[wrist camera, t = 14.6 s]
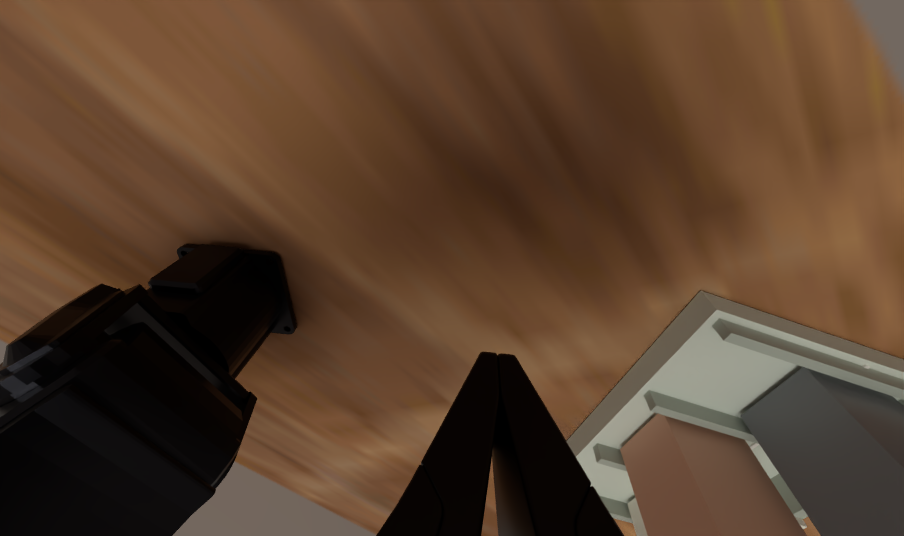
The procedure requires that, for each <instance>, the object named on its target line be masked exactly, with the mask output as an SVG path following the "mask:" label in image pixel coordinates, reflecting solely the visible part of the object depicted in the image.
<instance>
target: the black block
mask: <svg viewBox="0 0 904 536" xmlns="http://www.w3.org/2000/svg"><path fill="white" fill-rule="evenodd" d="M741 418H742V419H743V421H744V422H745V424H746V425H747V427H748V428H749V430H750V431H751V433H752V434H753V436H754V437H755V439H756V440H757V441H758V443H759V444H760V446H761V447H762V449H763V450H764V452H765V453H766V455H767V456H768V458H769V459H770V461H771V462H772V464H773V465H774V467H775V468H776V470H777V471H778V473H779V474H780V475H781V477H782V478H783V480H784V481H785V483H786V484H787V486H788V487H789V489H790V490H791V492H792V493H793V495H794V496H795V498H796V499H797V501H798V502H799V504H800V505H801V507H802V508H803V510H804V511H805V512H806V514H807V515H808V517H809V518H810V520H811V521H812V523H813V524H814V526H815V527H816V529H817V530H818V532H819V533H820V535H821V536H904V406H903V405H902V404H901V403H899V402H898V401H897V400H896V399H895V398H894V397H893V396H890V395H887V394H884V393H881V392H878V391H875V390H872V389H869V388H866V387H863V386H860V385H857V384H854V383H851V382H848V381H845V380H842V379H839V378H835V377H832V376H829V375H826V374H823V373H820V372H817V371H814V370H811V369H808V368H805V367H802V368H801V369H800V370H799V371H797V372H796V373H795V374H793V375H792V376H791V377H790V378H788V379H787V380H786V381H784V382H783V383H782V384H781V385H779V386H778V387H777V388H775V389H774V390H773V391H772V392H770V393H769V394H768V395H766V396H765V397H764V398H763V399H761V400H760V401H759V402H757V403H756V404H755V405H754V406H752V407H751V408H750V409H748V410H747V411H746V412H745V413H743V414H742V415H741Z"/></svg>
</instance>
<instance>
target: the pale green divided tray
mask: <svg viewBox="0 0 904 536" xmlns="http://www.w3.org/2000/svg"><path fill="white" fill-rule="evenodd" d="M802 367H805V368H808V369H811V370H814V371H817V372H820V373H823V374H826V375H829V376H832V377H835V378H839V379H842V380H845V381H848V382H851V383H854V384H857V385H860V386H863V387H866V388H869V389H872V390H875V391H878V392H881V393H884V394H887V395H890V396H893V397H894V398H895V399H896V400H897V401H898V402H899V403H901V404H902V405H903V406H904V359H901V358H898V357H895V356H892V355H889V354H886V353H883V352H880V351H877V350H874V349H871V348H868V347H865V346H862V345H859V344H857V343H854V342H851V341H848V340H845V339H842V338H839V337H836V336H833V335H830V334H827V333H824V332H821V331H818V330H815V329H812V328H809V327H806V326H804V325H801V324H798V323H795V322H792V321H789V320H786V319H783V318H780V317H777V316H774V315H771V314H768V313H765V312H762V311H759V310H756V309H753V308H751V307H748V306H745V305H742V304H739V303H736V302H733V301H730V300H727V299H724V298H721V297H718V296H715V295H712V294H709V293H706V292H703V291H700V292H699V293H698V294H697V295H696V296H695V297H694V298H693V299H692V301H691V302H690V303H689V304H688V305H687V306H686V307H685V308H684V310H683V311H682V312H681V313H680V314H679V315H678V316H677V317H676V319H675V320H674V321H673V322H672V323H671V324H670V325H669V326H668V328H667V329H666V330H665V331H664V332H663V333H662V334H661V335H660V337H659V338H658V339H657V340H656V341H655V342H654V343H653V344H652V346H651V347H650V348H649V349H648V350H647V351H646V352H645V353H644V355H643V356H642V357H641V358H640V359H639V360H638V361H637V362H636V364H635V365H634V366H633V367H632V368H631V369H630V370H629V371H628V373H627V374H626V375H625V376H624V377H623V378H622V379H621V380H620V381H619V383H618V384H617V385H616V386H615V387H614V388H613V389H612V390H611V392H610V393H609V394H608V395H607V396H606V397H605V398H604V399H603V401H602V402H601V403H600V404H599V405H598V406H597V407H596V408H595V410H594V411H593V412H592V413H591V414H590V415H589V416H588V417H587V419H586V420H585V421H584V422H583V423H582V424H581V425H580V426H579V428H578V429H577V430H576V431H575V432H574V433H573V434H572V435H571V437H570V438H569V439H568V440H567V443H568V445H569V446H570V448H571V450H572V451H573V453H574V455H575V456H576V458H577V460H578V461H579V463H580V465H581V466H582V468H583V470H584V471H585V473H586V475H587V476H588V478H589V480H590V481H591V486H593V487H594V488H595V489H596V491H597V493H598V495H599V496H600V498H601V500H602V501H603V503H604V505H605V506H606V508H607V509H608V511H609V513H610V514H611V516H612V517H613V518H615V519H619V520H623V521H626V522H630V523H633V521H632V518H631V515H630V511H629V508H628V505H627V504H628V503H629V502H630V501H631V500H633V499H634V498H635V494H634V491H633V488H632V485H631V482H630V479H629V476H628V473H627V470H626V466H625V463H624V460H623V457H622V454H621V451H620V449H621V448H622V447H623V446H624V445H625V444H626V443H627V442H628V441H629V440H630V439H631V438H632V437H633V436H635V435H636V434H637V433H638V432H639V431H640V430H641V429H642V428H643V427H644V426H645V425H646V424H647V423H648V422H649V421H650V420H652V419H653V418H654V417H655V416H656V415H657V414H661V415H665V416H668V417H671V418H675V419H678V420H681V421H684V422H688V423H691V424H694V425H698V426H701V427H704V428H708V429H711V430H714V431H718V432H721V433H724V434H728V435H731V436H734V437H737V438H741V439H744V440H745V441H746V442H747V444H748V445H749V447H750V448H751V450H752V452H753V453H754V455H755V456H756V458H757V459H758V461H759V462H760V464H761V465H762V467H763V469H764V470H765V472H766V473H767V475H768V476H769V478H770V479H771V481H772V482H773V484H774V486H775V487H776V489H777V490H778V492H779V493H780V495H781V496H782V498H783V499H784V501H785V503H786V504H787V506H788V507H789V509H790V510H791V512H792V513H793V515H794V516H795V518H796V520H797V521H798V523H799V524H800V526H801V527H802V529H805V528H807V525H806V524H805V522H804V521H803V519H804V518H806V517H808V515H807V514H806V512H805V511H804V510H803V508H802V507H801V505H800V504H799V502H798V501H797V499H796V498H795V496H794V495H793V493H792V492H791V490H790V489H789V487H788V486H787V484H786V483H785V481H784V480H783V478H782V477H781V475H780V474H779V473H778V471H777V470H776V468H775V467H774V465H773V464H772V462H771V461H770V459H769V458H768V456H767V455H766V453H765V452H764V450H763V449H762V447H761V446H760V444H759V443H758V441H757V440H756V439H755V437H754V436H753V434H752V433H751V431H750V430H749V428H748V427H747V425H746V424H745V422H744V421H743V419H742V418H741V415H742V414H743V413H745V412H746V411H747V410H748V409H750V408H751V407H752V406H754V405H755V404H756V403H757V402H759V401H760V400H761V399H763V398H764V397H765V396H766V395H768V394H769V393H770V392H772V391H773V390H774V389H775V388H777V387H778V386H779V385H781V384H782V383H783V382H784V381H786V380H787V379H788V378H790V377H791V376H792V375H793V374H795V373H796V372H797V371H799V370H800V369H801V368H802ZM591 486H590V487H591Z"/></svg>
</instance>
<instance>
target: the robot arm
mask: <svg viewBox="0 0 904 536" xmlns="http://www.w3.org/2000/svg"><path fill="white" fill-rule="evenodd" d="M177 254H178V256H179V260H177V261H176V262H174V263H173V264H172V265H170V266H169V267H167V268H166V269H164V270H163V271H161V272H160V273H158V274H157V275H155V276H154V277H152V278H151V279H150V281H149V282H148V284H149V286H150V288H149V289H147V290H145V289H144V288H143V287H142V286H141V285H140V284H139V285H137V286H134V287H132V288H130V289H127V290H125V291H122V290H121V289H119V288H118V289H116V288H113V287H110V286H107V285H104V284H100V285H98V286H95V287H93V288H92V289H90V290H88V291H87V292H85V293H83V294H82V295H80V296H78V297H77V298H75V299H73V300H72V301H70V302H69V303H67V304H65V305H64V306H62V307H61V308H59V309H57V310H56V311H54V312H53V313H51V314H50V315H48V316H47V317H46V318H44V319H43V320H41V321H40V322H39V323H37V324H36V325H34V326H33V327H32V328H30V329H29V330H28V331H26V332H25V333H23V334H22V335H21V336H19V337H18V338H17V339H15V340H14V341H12V342H11V343H10V344H8V345H7V346H6V351H5V356H4V361H3V362H2V363H1V364H0V536H172V535H173V534H174V533H175V532H176V531H177V530H178V529H179V528H180V527H181V526H182V525H183V523H184V522H185V521H186V520H187V519H188V518H189V517H190V516H191V515H192V514H193V513H194V512H195V511H196V510H198V509H199V508H200V507H201V506H202V505H203V504H204V503H205V502H207V501H208V500H209V499H210V498H211V497H212V496H213V495H214V493H215V491H216V487H217V486H218V485H219V484H220V483H221V481H222V480H223V479H224V478H225V476H226V475H227V473H228V472H229V470H230V468H231V467H232V465H233V463H234V461H235V458H236V456H237V453H238V450H239V448H240V445H241V442H242V439H243V436H244V434H245V431H246V428H247V425H248V423H249V420H250V417H251V414H252V412H253V409H254V406H255V403H256V401H257V397H256V396H255V395H254V394H253V393H251V392H248V391H247V390H246V389H245V388H244V387H243V386H242V385H241V384H240V383H239V382H238V381H236V380H235V378H236V377H237V376H238V374H239V373H240V372H241V370H242V369H243V368H244V367H245V365H246V364H247V363H248V361H249V360H250V359H251V357H252V356H253V355H254V354H255V352H256V351H257V350H258V348H259V347H260V346H261V345H262V343H263V342H264V341H265V339H266V338H267V337H268V335H269V334H270V333H271V332H272V333H281V334H292V333H294V331H295V330H296V328H297V325H296V321H295V317H294V313H293V308H292V304H291V300H290V296H289V292H288V288H287V284H286V280H285V276H284V271H283V267H282V263H281V259H280V257H279V256H278V255H277V254H275V253H273V252H266V251H255V250H244V249H240V248H236V247H225V246H215V245H204V244H202V245H189V244H184V245H183V246H181V247H179V248H178V249H177ZM269 259H271V260H272V261H273V262H271V261H270V260H269ZM491 458H492V462H493V474H494V486H495V498H496V510H497V523H498V535H499V536H624V535H623V533H622V532H621V530H620V528H619V527H618V525H617V524H616V522H615V520H614V519H613V517H612V516H611V514H610V513H609V511H608V509H607V508H606V506H605V505H604V503H603V501H602V500H601V498H600V496H599V495H598V493H597V491H596V489H595V488H594V487H593V486H591V481H590V480H589V478H588V476H587V475H586V473H585V471H584V470H583V468H582V466H581V465H580V463H579V461H578V460H577V458H576V456H575V455H574V453H573V451H572V450H571V448H570V446H569V445H568V443H567V441H566V440H565V438H564V436H563V435H562V433H561V431H560V430H559V428H558V426H557V425H556V423H555V421H554V420H553V418H552V416H551V415H550V413H549V411H548V410H547V408H546V406H545V405H544V403H543V401H542V400H541V398H540V396H539V395H538V393H537V391H536V390H535V388H534V386H533V385H532V383H531V381H530V380H529V378H528V376H527V375H526V373H525V371H524V370H523V368H522V366H521V365H520V363H519V361H518V360H517V358H516V357H515V356H514V355H511V354H498V356H497V354H496V353H492V352H481V353H480V354H479V356H478V358H477V360H476V362H475V364H474V365H473V367H472V369H471V371H470V373H469V375H468V376H467V378H466V380H465V382H464V384H463V386H462V388H461V389H460V391H459V393H458V395H457V397H456V399H455V401H454V402H453V404H452V406H451V408H450V410H449V412H448V413H447V415H446V417H445V419H444V421H443V423H442V425H441V426H440V428H439V430H438V432H437V434H436V436H435V437H434V439H433V441H432V443H431V445H430V447H429V449H428V450H427V452H426V454H425V456H424V458H423V460H422V462H421V465H419V467H418V468H417V470H416V472H415V474H414V476H413V478H412V480H411V481H410V483H409V485H408V486H407V488H406V490H405V492H404V493H403V495H402V497H401V498H400V500H399V502H398V504H397V505H396V507H395V508H394V510H393V511H392V513H391V514H390V516H389V517H388V519H387V520H386V522H385V523H384V525H383V526H382V528H381V529H380V531H379V532H378V534H377V535H376V536H481V532H482V525H483V517H484V510H485V502H486V495H487V488H488V480H489V473H490V466H491ZM590 486H591V487H590Z"/></svg>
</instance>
